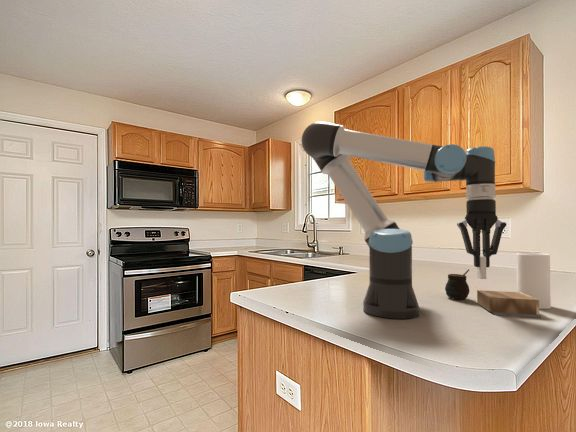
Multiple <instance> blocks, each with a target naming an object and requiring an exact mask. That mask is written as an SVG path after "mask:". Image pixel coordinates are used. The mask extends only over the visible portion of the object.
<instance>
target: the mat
mask: <svg viewBox="0 0 576 432" xmlns="http://www.w3.org/2000/svg"><path fill="white" fill-rule="evenodd" d="M491 313H492V314H493V315H496V316H509V317H526V318H542V317H541V316H542V315H540V314H539V315H537V314H520V313H503V312H491Z"/></svg>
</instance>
